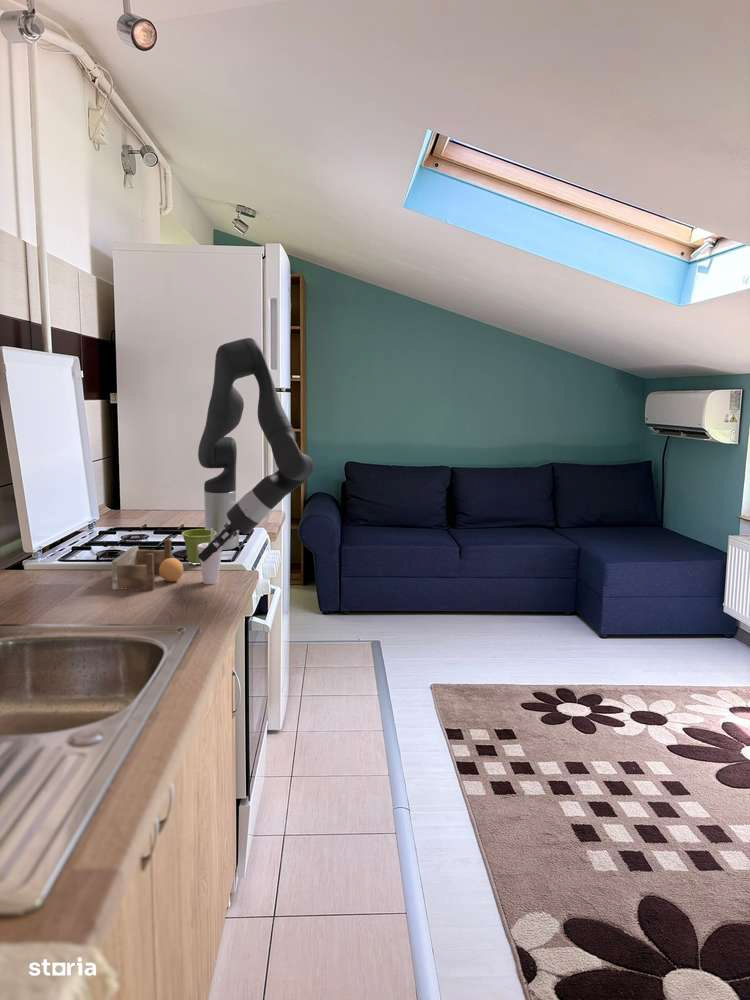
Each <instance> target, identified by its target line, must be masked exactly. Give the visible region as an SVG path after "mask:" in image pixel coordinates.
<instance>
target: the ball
mask: <svg viewBox="0 0 750 1000" xmlns="http://www.w3.org/2000/svg"><path fill="white" fill-rule="evenodd" d="M183 573H184V566H183V563H182V561H180V560H179V559H177V558H175V557H171V558H168V559H166V560H164V561H163V562H162V563H161V565H160V567H159V573H158V574H159V576H160V577H161V578H162V579H163V581H166V582H170V583H171V582H172V583H173V582H176V581H178V580H179V579H181V577H182V576H183V575H184V574H183Z"/></svg>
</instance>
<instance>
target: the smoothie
mask: <svg viewBox="0 0 750 1000" xmlns="http://www.w3.org/2000/svg"><path fill="white" fill-rule="evenodd" d="M212 541H213V528H211V542H212ZM208 544H209V543H202V544H199V545H198V546H197V550H199V554H200V553H201V552H202V551H203V550H204V549H205V548H206V547H207V546H208ZM213 544H214V545H215V546H216V547H218V546H219V544H218V543H213ZM222 549H223V547H220V548H219V549H218V551H217V552H215V553H213V554H212V555H211V556H210V557H209V558H208V559H207V560H206V561H205V562H203V561H202V560H201V559H200V563H201V564H200V569H201V576H202V582H203V584H205V585H215V584H218V583H219V577H220V568H221V559H222V551H223V550H222Z"/></svg>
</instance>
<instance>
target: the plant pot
mask: <svg viewBox="0 0 750 1000" xmlns="http://www.w3.org/2000/svg"><path fill="white" fill-rule="evenodd" d="M181 535H182V536H183V540H184V543H185V544H184V545H185V551H186V557H187V563H188V562H191V563H200V558H199V557H198V555H199V550H197V546H198V545H199V544H202V543H211V530H208V529H205V528H196V529H188V530H184V531H181ZM215 535H216V531H213V537H214V536H215Z"/></svg>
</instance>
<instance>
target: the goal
mask: <svg viewBox="0 0 750 1000" xmlns="http://www.w3.org/2000/svg"><path fill="white" fill-rule="evenodd" d="M163 543H164V544H163V548H164V549H159V550H158V549H139V545H133V546H132V547H130V548H129V549H127V550H126V551H125V552H123V553H122V554H120V555H118V556H117V557H116V558H115V559H113V560H111V574H112V575H111V576H112V578H111V579H112V590H117V589H118V588H119V589H118V590H122V589H121V588H123V589H125V588H126V589H139V590H138V591H154V590H155V584H156V583H155V574H160V573H159V567H160V565H161V563H162V562H163V561H164V560H166V559H168V558H172V539H171V538H167V539H166V538H165V539H164V540H163Z"/></svg>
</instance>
